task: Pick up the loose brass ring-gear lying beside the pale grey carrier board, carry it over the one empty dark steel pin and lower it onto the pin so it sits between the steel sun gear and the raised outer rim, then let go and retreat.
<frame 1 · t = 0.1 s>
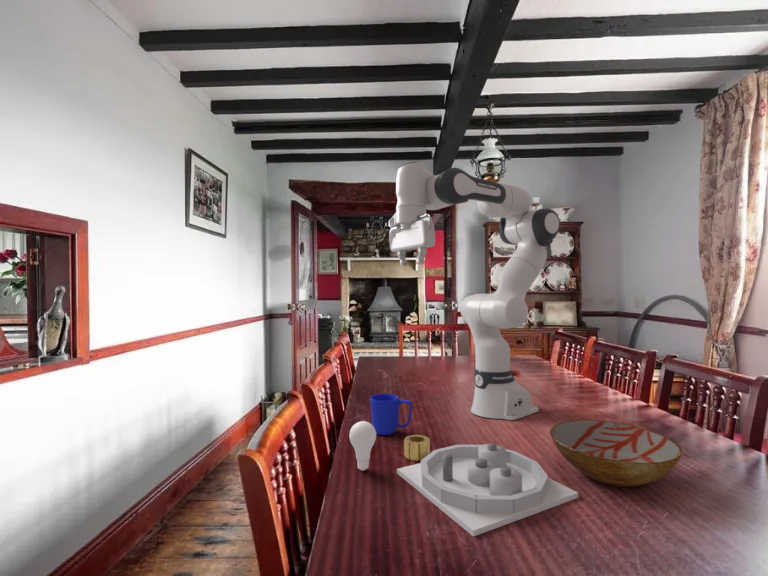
hand: (411, 265, 119), 48 cm above the table, fingers open, 8 cm apart
mug: (391, 433, 116), on the table
carrier board: (481, 484, 85), on the table
gear: (417, 455, 100), on the table
lightbulb: (363, 471, 92), on the table
bowl: (611, 475, 89), on the table
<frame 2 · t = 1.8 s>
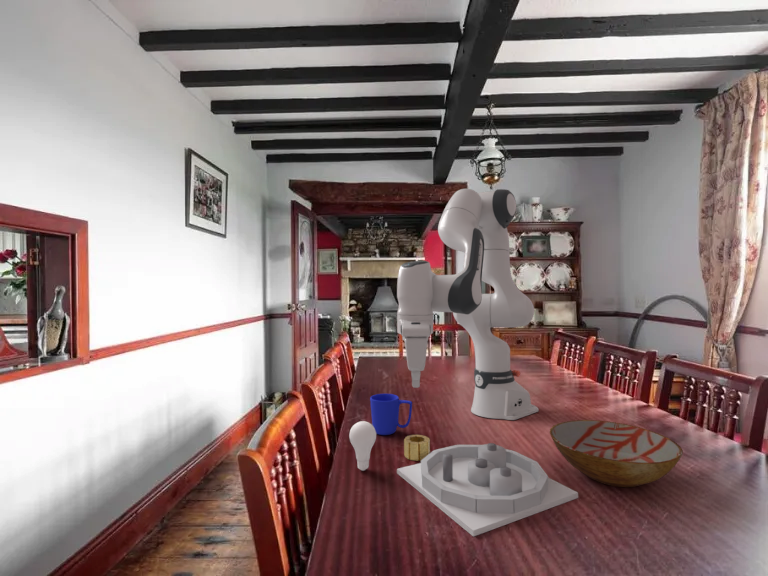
hand: (415, 382, 100), 18 cm above the table, fingers open, 8 cm apart
nothing on the table moved.
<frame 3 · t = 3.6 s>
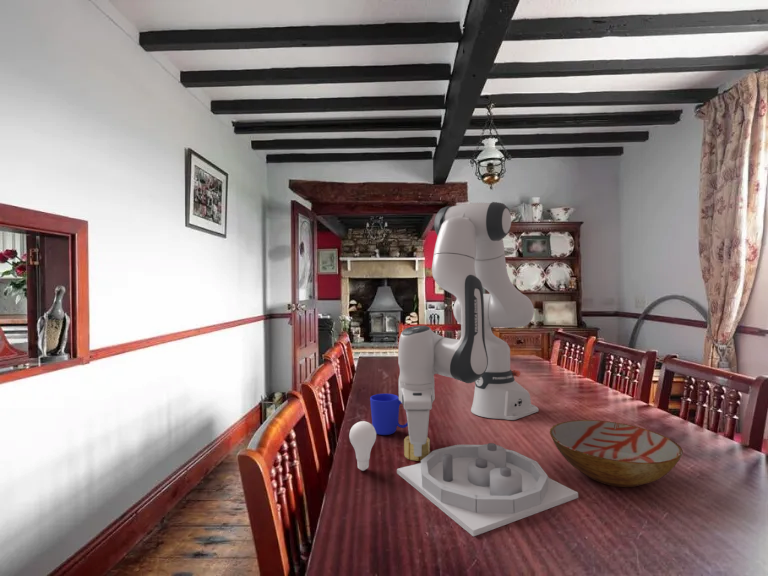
hand: (417, 448, 100), 2 cm above the table, fingers closed on gear, 6 cm apart
gear: (417, 455, 100), on the table, touching gripper
everything else where it was.
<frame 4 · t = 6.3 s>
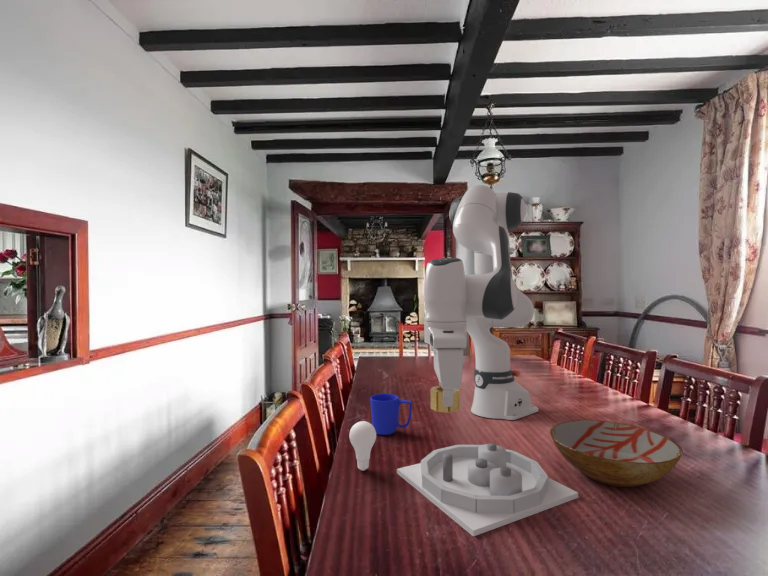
hand: (445, 400, 85), 18 cm above the table, fingers closed on gear, 6 cm apart
gear: (445, 408, 85), point 16 cm above the table, touching gripper
everything else where it was.
when the fingers open (4 cm above the table, at t = 9.0 s): gear drops 1 cm, resting on carrier board.
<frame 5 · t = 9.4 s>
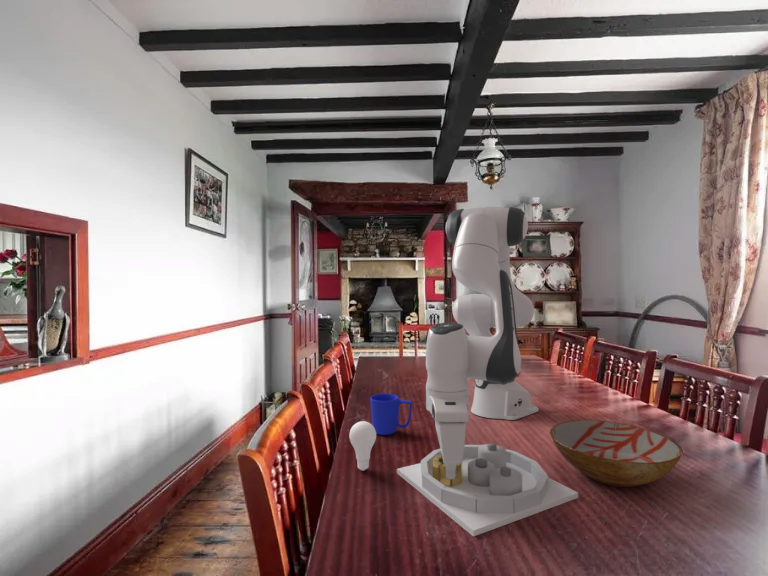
hand: (447, 466, 85), 4 cm above the table, fingers open, 8 cm apart
gear: (447, 479, 85), point 1 cm above the table, touching carrier board
everything else where it was.
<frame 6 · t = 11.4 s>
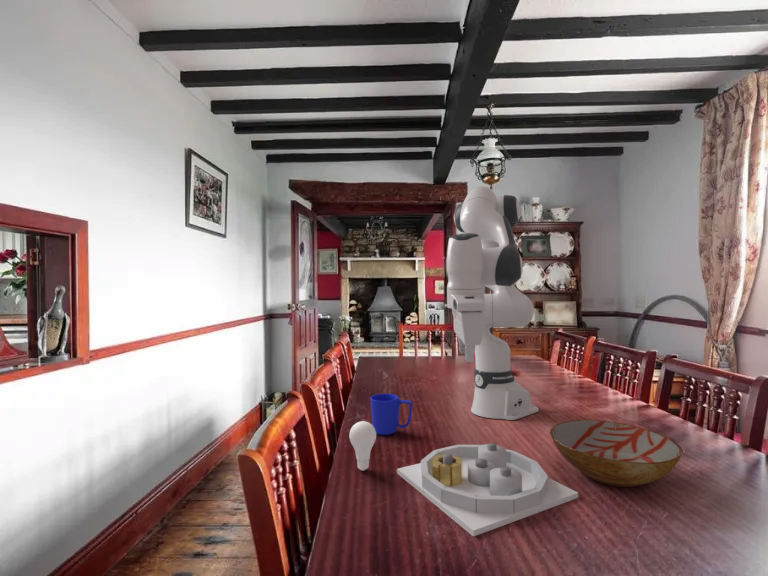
hand: (466, 357, 99), 24 cm above the table, fingers open, 8 cm apart
nothing on the table moved.
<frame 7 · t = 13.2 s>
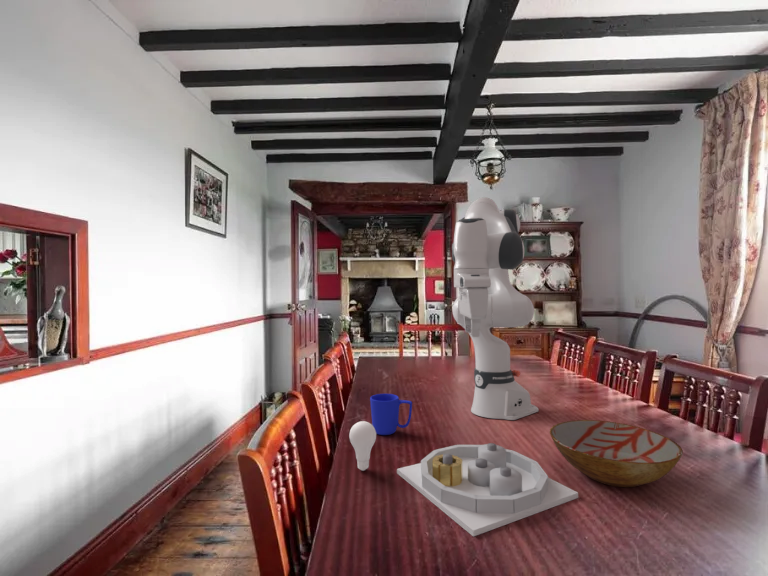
hand: (471, 334, 104), 29 cm above the table, fingers open, 8 cm apart
nothing on the table moved.
at the end: gear 0.1 cm from the target spot on the carrier board, point 1.0 cm above the carrier board's base; gear tilted 0°; the gripper is holding nothing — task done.
